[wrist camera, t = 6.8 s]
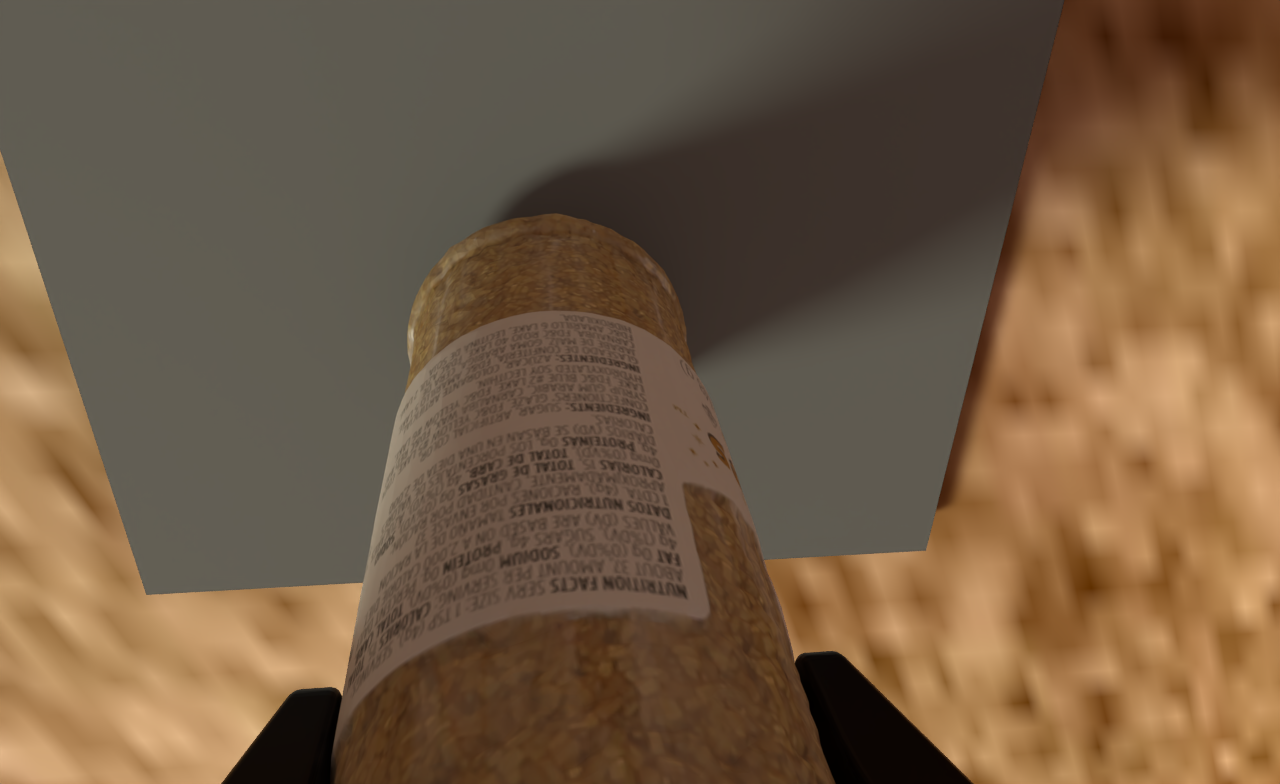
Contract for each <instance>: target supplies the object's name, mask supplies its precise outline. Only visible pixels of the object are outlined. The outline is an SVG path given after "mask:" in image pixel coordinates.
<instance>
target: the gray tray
mask: <svg viewBox="0 0 1280 784" xmlns="http://www.w3.org/2000/svg"><path fill="white" fill-rule="evenodd" d="M1063 4H1064V0H0V150H1V154H2V157H3V160H4V163H5V166H6V169H7V172H8V175H9V178H10V181H11V184H12V187H13V190H14V193H15V196H16V199H17V202H18V205H19V208H20V211H21V214H22V217H23V220H24V224H25V227H26V230H27V233H28V236H29V239H30V242H31V245H32V248H33V251H34V254H35V257H36V260H37V263H38V266H39V269H40V272H41V275H42V278H43V281H44V284H45V287H46V290H47V294H48V297H49V300H50V303H51V306H52V309H53V312H54V315H55V318H56V321H57V324H58V327H59V330H60V333H61V336H62V339H63V342H64V345H65V348H66V351H67V354H68V357H69V360H70V364H71V367H72V370H73V373H74V376H75V379H76V382H77V385H78V388H79V391H80V394H81V397H82V400H83V403H84V406H85V409H86V412H87V415H88V418H89V421H90V424H91V427H92V430H93V434H94V437H95V440H96V443H97V446H98V449H99V452H100V455H101V458H102V461H103V464H104V467H105V470H106V473H107V476H108V479H109V482H110V485H111V488H112V491H113V494H114V497H115V500H116V504H117V507H118V510H119V513H120V516H121V519H122V522H123V525H124V528H125V531H126V534H127V537H128V540H129V543H130V546H131V549H132V552H133V555H134V558H135V561H136V564H137V567H138V570H139V574H140V577H141V580H142V583H143V586H144V589H145V592H146V595H152V594H170V593H187V592H205V591H222V590H240V589H258V588H275V587H293V586H310V585H328V584H346V583H363V581H364V575H365V570H366V565H367V560H368V555H369V549H370V544H371V539H372V533H373V528H374V522H375V517H376V512H377V507H378V502H379V497H380V493H381V488H382V483H383V478H384V473H385V468H386V463H387V458H388V453H389V448H390V443H391V438H392V433H393V428H394V424H395V419H396V415H397V412H398V409H399V407H400V404H401V401H402V399H403V397H404V395H405V389H406V385H407V381H408V376H409V371H410V368H411V367H410V360H409V356H408V348H407V333H408V323H409V319H410V314H411V309H412V306H413V303H414V300H415V298H416V295H417V293H418V291H419V289H420V287H421V286H422V284H423V282H424V280H425V278H426V277H427V275H428V274H429V272H430V271H431V269H432V268H433V267H434V266H435V265H436V264H437V263H438V262H439V261H440V259H441V258H443V256H444V255H445V253H446V252H447V251H448V249H449V248H450V247H452V246H454V245H455V244H457V243H459V242H461V241H463V240H464V239H466V238H467V237H468V236H470V235H471V234H473V233H475V232H477V231H478V230H480V229H482V228H484V227H487V226H490V225H493V224H496V223H500V222H503V221H506V220H510V219H514V218H522V217H533V216H538V215H543V214H554V213H557V214H562V215H567V216H570V217H574V218H577V219H585V220H588V221H590V222H592V223H595V224H598V225H602V226H604V227H607V228H610V229H612V230H613V231H615V232H617V233H618V234H620V235H621V236H623V237H625V238H627V239H630V240H632V241H634V242H635V243H636V244H638V245H639V246H640V247H641V248H642V249H644V250H645V251H646V253H647V254H648V255H649V256H650V257H652V258H653V259H654V260H655V261H656V262H657V264H658V265H659V266H660V267H661V268H662V269H663V270H664V271H665V273H666V275H667V277H668V278H669V280H670V282H671V283H672V286H673V288H674V290H675V293H676V295H677V297H678V299H679V303H680V306H681V308H682V311H683V316H684V322H685V326H686V337H687V346H688V349H689V352H690V355H691V360H692V364H693V367H694V369H695V372H696V374H697V376H698V377H699V379H700V381H701V382H702V384H703V385H704V387H705V389H706V391H707V393H708V395H709V397H710V399H711V401H712V404H713V407H714V410H715V413H716V416H717V419H718V422H719V425H720V428H721V431H722V433H723V436H724V439H725V442H726V444H727V447H728V450H729V453H730V456H731V459H732V462H733V465H734V468H735V471H736V474H737V477H738V480H739V483H740V486H741V489H742V492H743V495H744V498H745V500H746V503H747V506H748V509H749V512H750V515H751V517H752V520H753V523H754V526H755V529H756V533H757V536H758V539H759V542H760V547H761V551H762V554H763V558H764V560H768V559H786V558H803V557H821V556H838V555H856V554H874V553H891V552H909V551H926V547H927V543H928V540H929V536H930V532H931V528H932V524H933V520H934V516H935V512H936V508H937V504H938V500H939V496H940V492H941V488H942V484H943V480H944V476H945V472H946V468H947V464H948V460H949V456H950V452H951V448H952V444H953V440H954V436H955V432H956V428H957V424H958V420H959V416H960V412H961V409H962V405H963V401H964V397H965V393H966V389H967V385H968V381H969V377H970V373H971V369H972V365H973V361H974V357H975V353H976V349H977V345H978V341H979V337H980V333H981V329H982V325H983V321H984V317H985V313H986V309H987V305H988V301H989V297H990V293H991V289H992V285H993V281H994V277H995V274H996V270H997V266H998V262H999V258H1000V254H1001V250H1002V246H1003V242H1004V238H1005V234H1006V230H1007V226H1008V222H1009V218H1010V214H1011V210H1012V206H1013V202H1014V198H1015V194H1016V190H1017V186H1018V182H1019V178H1020V174H1021V170H1022V166H1023V162H1024V158H1025V154H1026V150H1027V146H1028V142H1029V139H1030V135H1031V131H1032V127H1033V123H1034V119H1035V115H1036V111H1037V107H1038V103H1039V99H1040V95H1041V91H1042V87H1043V83H1044V79H1045V75H1046V71H1047V67H1048V63H1049V59H1050V55H1051V51H1052V47H1053V43H1054V39H1055V35H1056V31H1057V27H1058V23H1059V19H1060V15H1061V11H1062V7H1063Z"/></svg>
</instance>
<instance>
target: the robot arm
mask: <svg viewBox="0 0 1280 784" xmlns="http://www.w3.org/2000/svg"><path fill="white" fill-rule="evenodd" d="M795 666H796V668H797V670H798V673H799V676H800V681H801V684H802V686H803V689H804V691H805V694H806V696H807V699H808V701H809V709H810V713H811V716H812V718H813V720H814V722H815V725H816V727H817V729H818V734H819V739H820V744H821V747H822V751H823V754H824V757H825V759H826V762H827V764H828V766H829V769H830V771H831V774H832V776H833V779H834V781H835V784H973V783H972V782H971V781H970V780H969V779H968V778H967V777H966V776H965V775H964V774H963V773H962V772H961V771H960V770H959V769H958V768H957V767H956V766H955V765H954V764H953V763H952V762H951V761H950V760H949V759H948V758H947V757H946V756H945V755H944V754H943V753H942V752H941V751H940V750H939V749H938V748H937V747H936V746H935V745H934V744H933V743H932V742H931V741H930V740H929V739H928V738H927V737H926V736H925V735H924V734H922V733H921V732H920V731H919V730H918V729H917V728H916V727H915V726H914V725H913V724H912V723H911V722H910V721H909V720H908V719H907V718H906V717H905V716H904V715H903V714H902V713H901V712H900V711H899V710H898V709H897V708H896V707H895V706H894V705H893V704H892V703H891V702H890V701H889V700H888V699H887V698H886V697H885V696H884V695H883V694H882V693H881V692H880V691H879V690H878V689H877V688H876V687H875V686H874V685H873V684H872V683H871V682H870V681H869V680H868V679H867V678H866V677H865V676H864V675H863V674H862V673H861V672H860V671H859V670H858V669H857V668H855V667H854V666H853V665H852V664H851V663H850V662H849V661H848V660H847V659H846V658H845V657H844V656H843V655H841V654H840V653H838V652H835V651H826V652H812V653H803V654H800V655H799V656H798V657H797V659H796V661H795ZM341 701H342V695H341V694H340V692H339V690H338V689H336V688H332V687H326V688H312V689H301V690H296V691H295V692H293V693H291V694H290V695H289V696H288V697H287V699H286V700H285V701H284V703H283V704H282V705H281V706H280V708H279V709H278V710H277V712H276V713H275V714H274V716H273V717H272V718H271V719H270V721H269V722H268V723H267V725H266V726H265V727H264V729H263V730H262V731H261V733H260V734H259V735H258V736H257V738H256V739H255V740H254V742H253V743H252V744H251V746H250V747H249V748H248V750H247V751H246V752H245V753H244V755H243V756H242V757H241V759H240V760H239V761H238V763H237V764H236V765H235V766H234V768H233V769H232V770H231V772H230V773H229V774H228V776H227V777H226V778H225V780H224V781H223V782H222V783H221V784H330V767H331V756H332V750H333V744H334V739H335V733H336V728H337V722H338V717H339V712H340V706H341Z"/></svg>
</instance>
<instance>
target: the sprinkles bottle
mask: <svg viewBox="0 0 1280 784" xmlns="http://www.w3.org/2000/svg"><path fill="white" fill-rule="evenodd" d="M407 348H408V356H409V360H410V367H411V368H410V371H409V376H408V381H407V385H406V389H405V395H404V397H403V399H402V401H401V404H400V407H399V409H398V412H397V415H396V419H395V424H394V428H393V433H392V438H391V443H390V448H389V453H388V458H387V463H386V468H385V473H384V478H383V483H382V488H381V493H380V497H379V502H378V507H377V512H376V517H375V522H374V528H373V533H372V539H371V544H370V549H369V555H368V560H367V565H366V570H365V575H364V581H363V586H362V591H361V596H360V602H359V608H358V613H357V619H356V624H355V630H354V635H353V641H352V647H351V652H350V658H349V663H348V669H347V674H346V680H345V685H344V690H343V696H342V701H341V706H340V712H339V717H338V722H337V728H336V733H335V739H334V744H333V750H332V756H331V767H330V784H835V781H834V779H833V776H832V774H831V771H830V769H829V766H828V764H827V762H826V759H825V757H824V754H823V751H822V747H821V744H820V739H819V734H818V729H817V727H816V725H815V722H814V720H813V718H812V716H811V713H810V709H809V701H808V699H807V696H806V694H805V691H804V689H803V686H802V684H801V681H800V676H799V673H798V670H797V668H796V666H795V663H794V657H793V650H792V646H791V643H790V639H789V635H788V631H787V627H786V623H785V620H784V616H783V612H782V608H781V605H780V603H779V600H778V597H777V594H776V592H775V589H774V586H773V584H772V581H771V579H770V577H769V575H768V573H767V569H766V565H765V562H764V558H763V554H762V551H761V547H760V542H759V539H758V536H757V533H756V529H755V526H754V523H753V520H752V517H751V515H750V512H749V509H748V506H747V503H746V500H745V498H744V495H743V492H742V489H741V486H740V483H739V480H738V477H737V474H736V471H735V468H734V465H733V462H732V459H731V456H730V453H729V450H728V447H727V444H726V442H725V439H724V436H723V433H722V431H721V428H720V425H719V422H718V419H717V416H716V413H715V410H714V407H713V404H712V401H711V399H710V397H709V395H708V393H707V391H706V389H705V387H704V385H703V384H702V382H701V381H700V379H699V377H698V376H697V374H696V372H695V369H694V367H693V364H692V360H691V355H690V352H689V349H688V346H687V337H686V326H685V322H684V316H683V311H682V308H681V306H680V303H679V299H678V297H677V295H676V293H675V290H674V288H673V286H672V283H671V282H670V280H669V278H668V277H667V275H666V273H665V271H664V270H663V269H662V268H661V267H660V266H659V265H658V264H657V262H656V261H655V260H654V259H653V258H652V257H650V256H649V255H648V254H647V253H646V251H645V250H644V249H642V248H641V247H640V246H639V245H638V244H636V243H635V242H634V241H632V240H630V239H627V238H625V237H623V236H621V235H620V234H618V233H617V232H615V231H613V230H612V229H610V228H607V227H604V226H602V225H598V224H595V223H592V222H590V221H588V220H585V219H577V218H574V217H570V216H567V215H562V214H557V213H554V214H543V215H538V216H533V217H522V218H514V219H510V220H506V221H503V222H500V223H496V224H493V225H490V226H487V227H484V228H482V229H480V230H478V231H477V232H475V233H473V234H471V235H470V236H468V237H467V238H466V239H464V240H463V241H461V242H459V243H457V244H455V245H454V246H452V247H450V248H449V249H448V251H447V252H446V253H445V255H444V256H443V258H441V259H440V261H439V262H438V263H437V264H436V265H435V266H434V267H433V268H432V269H431V271H430V272H429V274H428V275H427V277H426V278H425V280H424V282H423V284H422V286H421V287H420V289H419V291H418V293H417V295H416V298H415V300H414V303H413V306H412V309H411V314H410V319H409V323H408V333H407Z"/></svg>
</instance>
